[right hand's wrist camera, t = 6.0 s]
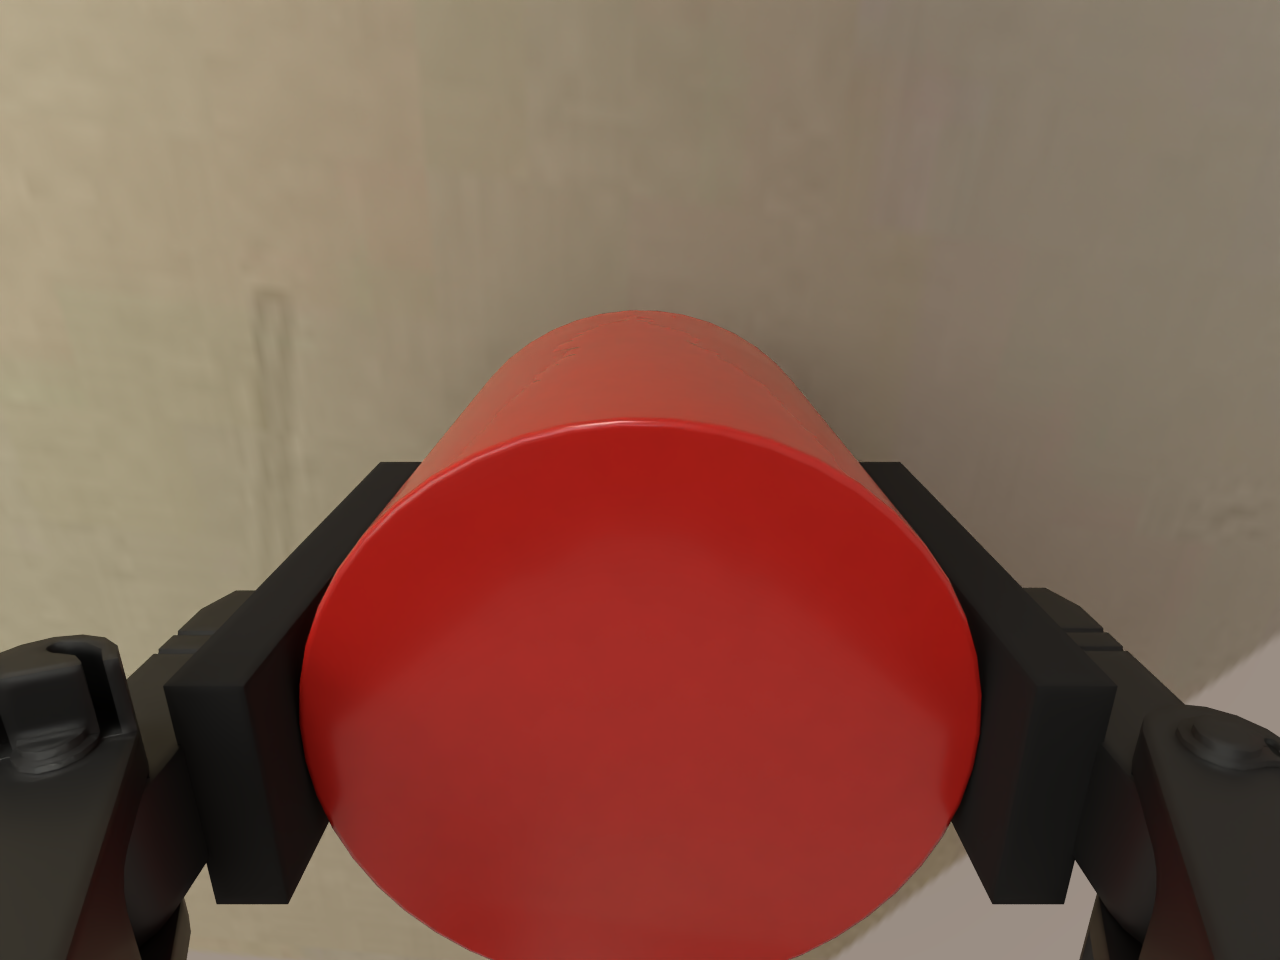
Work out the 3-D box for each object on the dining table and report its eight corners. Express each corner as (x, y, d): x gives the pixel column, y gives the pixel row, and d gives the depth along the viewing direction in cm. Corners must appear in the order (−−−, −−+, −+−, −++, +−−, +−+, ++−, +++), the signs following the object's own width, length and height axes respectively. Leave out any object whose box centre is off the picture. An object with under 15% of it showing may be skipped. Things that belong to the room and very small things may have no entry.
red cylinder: (798, 673, 17) (908, 1009, 10) (451, 649, 17) (316, 973, 10) (859, 326, 14) (1066, 451, 7) (451, 293, 14) (268, 387, 7)
